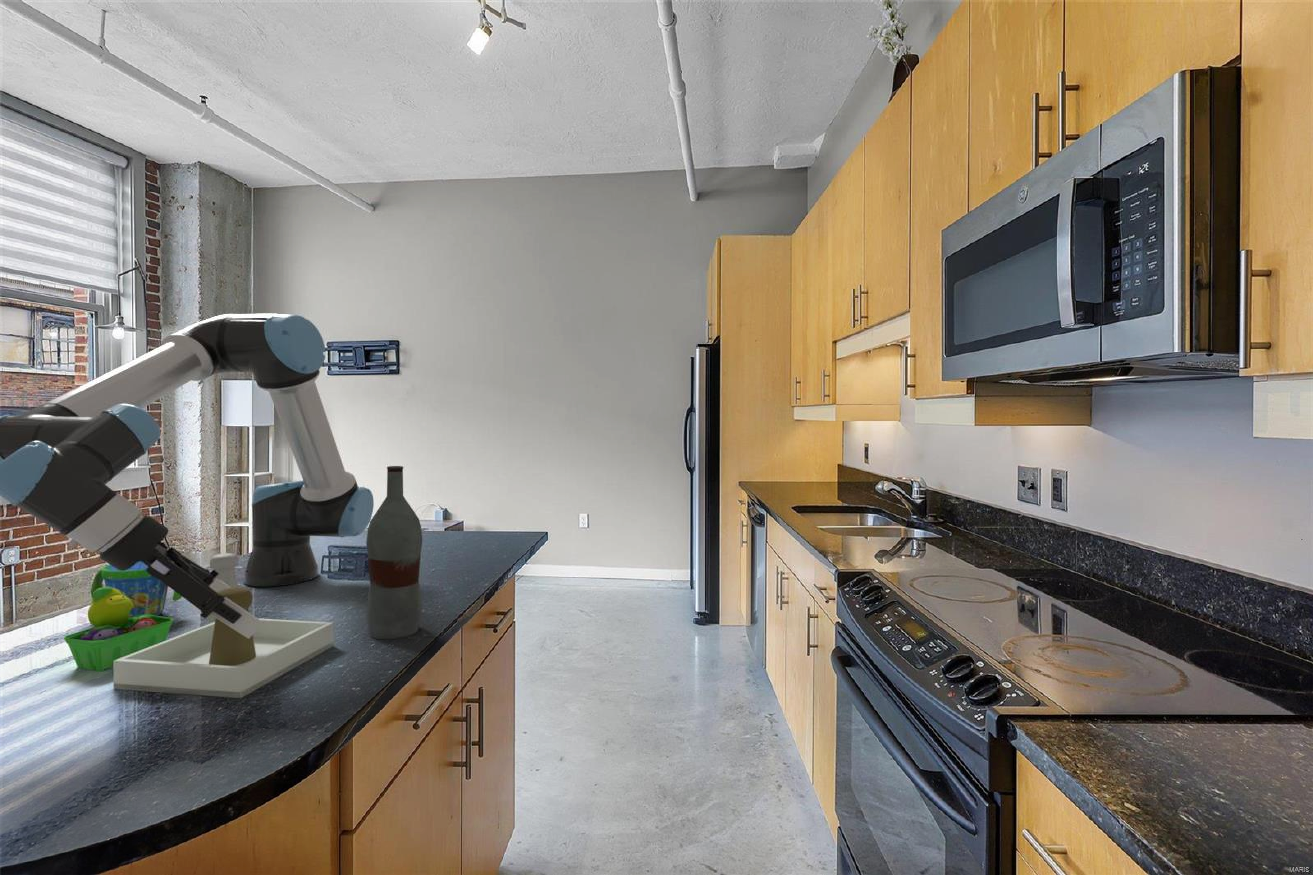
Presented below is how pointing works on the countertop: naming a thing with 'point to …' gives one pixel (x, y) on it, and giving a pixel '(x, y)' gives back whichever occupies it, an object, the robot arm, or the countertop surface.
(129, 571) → the snack cup
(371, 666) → the countertop surface
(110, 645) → the fruit basket
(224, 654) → the cork
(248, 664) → the bin
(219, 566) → the salt shaker
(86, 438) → the robot arm
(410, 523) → the bottle
